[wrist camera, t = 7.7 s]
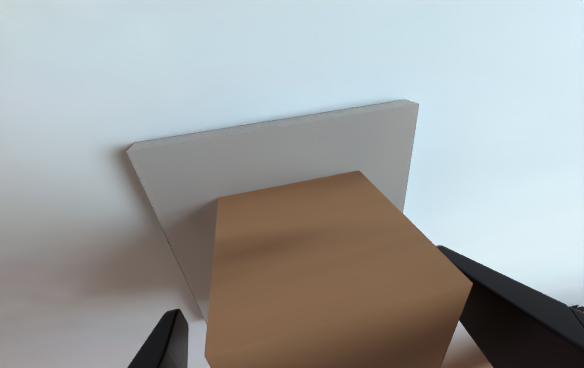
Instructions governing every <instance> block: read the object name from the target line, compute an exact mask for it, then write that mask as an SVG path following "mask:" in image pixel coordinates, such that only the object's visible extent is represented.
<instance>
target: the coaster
mask: <svg viewBox="0 0 584 368" xmlns="http://www.w3.org/2000/svg"><path fill="white" fill-rule="evenodd" d="M418 108H419V104H418V103H415V102H412V101H409V100H401V101H394V102H388V103H382V104H375V105H369V106H363V107H357V108H350V109H344V110H338V111H331V112H325V113H319V114H312V115H306V116H300V117H294V118H287V119H281V120H275V121H268V122H262V123H256V124H250V125H243V126H237V127H231V128H224V129H218V130H212V131H206V132H199V133H193V134H187V135H180V136H174V137H168V138H162V139H155V140H149V141H143V142H136V143H134V144H133V145H132V146H131V147H130V148H129V149H128V150H127V151H126V152H127V154H128V156H129V158H130V160H131V163H132V165H133V167H134V169H135V171H136V173H137V175H138V178H139V180H140V182H141V184H142V186H143V188H144V191H145V193H146V195H147V197H148V199H149V201H150V203H151V206H152V208H153V210H154V212H155V214H156V216H157V219H158V221H159V223H160V225H161V227H162V229H163V231H164V234H165V236H166V238H167V240H168V242H169V244H170V247H171V249H172V251H173V253H174V255H175V257H176V259H177V262H178V264H179V266H180V268H181V270H182V272H183V275H184V277H185V279H186V281H187V283H188V285H189V287H190V290H191V292H192V294H193V296H194V298H195V300H196V303H197V305H198V307H199V309H200V311H201V313H202V316H203V318H204V320H205V322H206V324H207V322H208V310H209V299H210V287H211V276H212V264H213V253H214V242H215V230H216V219H217V207H218V197H223V196H229V195H234V194H239V193H244V192H249V191H255V190H260V189H265V188H270V187H275V186H281V185H286V184H291V183H296V182H301V181H307V180H312V179H317V178H322V177H327V176H333V175H338V174H343V173H348V172H354V171H360V172H361V173H362V174H363V175H364V176H365V177H366V178H367V179H368V180H369V181H370V182H371V183H372V184H373V185H374V186H375V187H376V188H377V189H378V190H380V191H381V192H382V193H383V194H384V195H385V196H386V197H387V198H388V199H389V200H390V201H391V202H392V203H393V204H394V205H395V206H396V207H397V208H398V209H399V210H400V211H401V212H402V213H403V209H404V202H405V196H406V189H407V182H408V175H409V169H410V162H411V155H412V149H413V142H414V135H415V128H416V122H417V115H418Z"/></svg>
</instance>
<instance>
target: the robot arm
mask: <svg viewBox="0 0 584 368" xmlns="http://www.w3.org/2000/svg"><path fill="white" fill-rule="evenodd" d="M436 247H437V248H438V249H439V250H440V251H441V252H442V253H443V254H444V255H445V256H446V257H447V258H448V259H449V260H450V261H451V262H452V263H453V264H454V265H455V266H456V267H457V268H458V269H459V270H460V271H461V272H462V273H463V274H464V275H465V276H466V277H467V278H468V279H469V280H470V281H471V282H472V283H473V285H472V288H471V290H470V293H469V295H468V298H467V300H466V303H465V306H464V308H463V311H462V313H461V316H460V318H459V321H460V322H461V323H462V325H463V326H464V328H465V329H466V330H467V332H468V333H469V334H470V336H471V337H472V339H473V340H474V341H475V343H476V344H477V346H478V347H479V348H480V350H481V351H482V352H483V354H484V355H485V357H486V358H487V359H488V361H489V362H490V363H491V365H492V366H493V368H584V307H583V306H582V307H578V308H572V307H570V306H569V307H568V306H567V305H566V304H564V303H562V302H560V301H558V300H555V299H553V298H551V297H549V296H547V295H545V294H543V293H541V292H539V291H537V290H534V289H532V288H530V287H528V286H526V285H524V284H522V283H520V282H518V281H515V280H513V279H511V278H509V277H507V276H505V275H503V274H501V273H499V272H497V271H494V270H492V269H490V268H488V267H486V266H484V265H482V264H480V263H478V262H476V261H473V260H471V259H469V258H467V257H465V256H463V255H461V254H459V253H457V252H455V251H452V250H450V249H448V248H446V247H444V246H441V245H438V246H436ZM187 360H188V323H187V321H186V319H185V317H184V315H183V313H182V312H181V310H180V309H174V310H170V311H167V312H166V313H165V314H164V315H163V316H162V318H161V319H160V321H159V322H158V324H157V325H156V327H155V328H154V330H153V331H152V333H151V334H150V335H149V337H148V338H147V340H146V341H145V343H144V344H143V346H142V347H141V349H140V350H139V351H138V353H137V354H136V356H135V357H134V359H133V360H132V362H131V363H130V365H129V366H128V368H187Z"/></svg>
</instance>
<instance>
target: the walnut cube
mask: <svg viewBox="0 0 584 368" xmlns="http://www.w3.org/2000/svg"><path fill="white" fill-rule="evenodd" d="M472 285H473V283H472V282H471V281H470V280H469V279H468V278H467V277H466V276H465V275H464V274H463V273H462V272H461V271H460V270H459V269H458V268H457V267H456V266H455V265H454V264H453V263H452V262H451V261H450V260H449V259H448V258H447V257H446V256H445V255H444V254H443V253H442V252H441V251H440V250H439V249H438V248H437V247H436V246H435V245H434V244H433V243H432V242H431V241H430V240H429V239H428V238H427V237H426V236H425V235H424V234H423V233H422V232H421V231H420V230H419V229H418V228H417V227H416V226H415V225H414V224H413V223H412V222H411V221H410V220H409V219H408V218H407V217H406V216H405V215H404V214H403V213H402V212H401V211H400V210H399V209H398V208H397V207H396V206H395V205H394V204H393V203H392V202H391V201H390V200H389V199H388V198H387V197H386V196H385V195H384V194H383V193H382V192H381V191H380V190H378V189H377V188H376V187H375V186H374V185H373V184H372V183H371V182H370V181H369V180H368V179H367V178H366V177H365V176H364V175H363V174H362V173H361V172H360V171H354V172H348V173H343V174H338V175H333V176H327V177H322V178H317V179H312V180H307V181H301V182H296V183H291V184H286V185H281V186H275V187H270V188H265V189H260V190H255V191H249V192H244V193H239V194H234V195H229V196H223V197H218V207H217V219H216V230H215V242H214V253H213V264H212V276H211V287H210V299H209V310H208V322H207V333H206V344H205V358H206V360H207V362H208V364H209V365H210V367H211V368H440V367H441V364H442V362H443V359H444V357H445V354H446V352H447V349H448V346H449V344H450V341H451V339H452V336H453V334H454V331H455V329H456V326H457V323H458V321H459V318H460V316H461V313H462V311H463V308H464V306H465V303H466V300H467V298H468V295H469V293H470V290H471V288H472Z"/></svg>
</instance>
